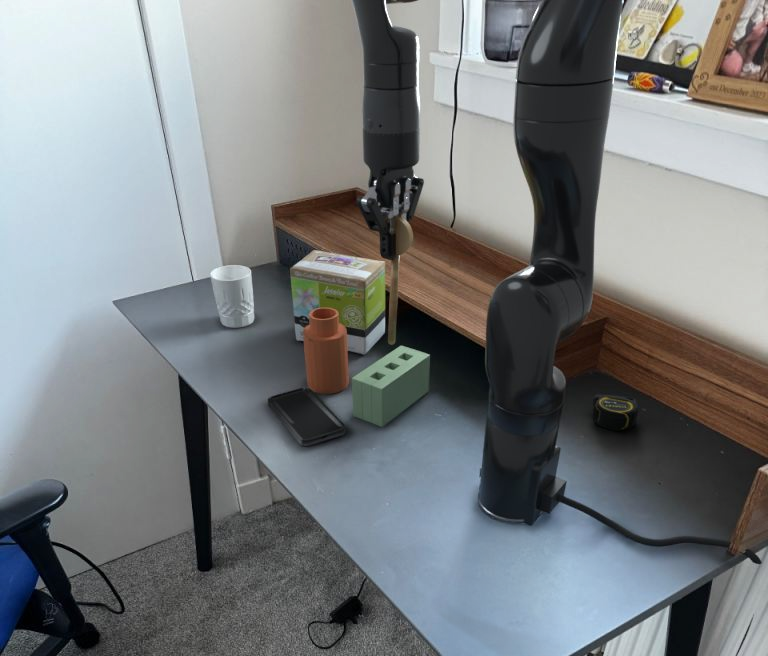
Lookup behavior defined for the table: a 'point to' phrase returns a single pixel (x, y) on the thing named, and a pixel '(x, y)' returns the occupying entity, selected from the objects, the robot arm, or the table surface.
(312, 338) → the bottle
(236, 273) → the white cup
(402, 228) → the tan flat rounded part
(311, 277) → the tea box
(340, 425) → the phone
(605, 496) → the table surface
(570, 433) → the table surface
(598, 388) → the table surface
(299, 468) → the table surface
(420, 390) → the holder
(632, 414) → the tape measure
